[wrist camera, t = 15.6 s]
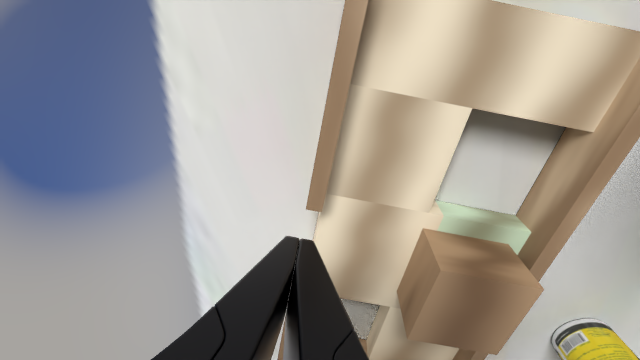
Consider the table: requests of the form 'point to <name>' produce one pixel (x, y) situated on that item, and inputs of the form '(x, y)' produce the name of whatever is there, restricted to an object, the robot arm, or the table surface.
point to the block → (464, 292)
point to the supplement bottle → (590, 342)
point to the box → (445, 131)
